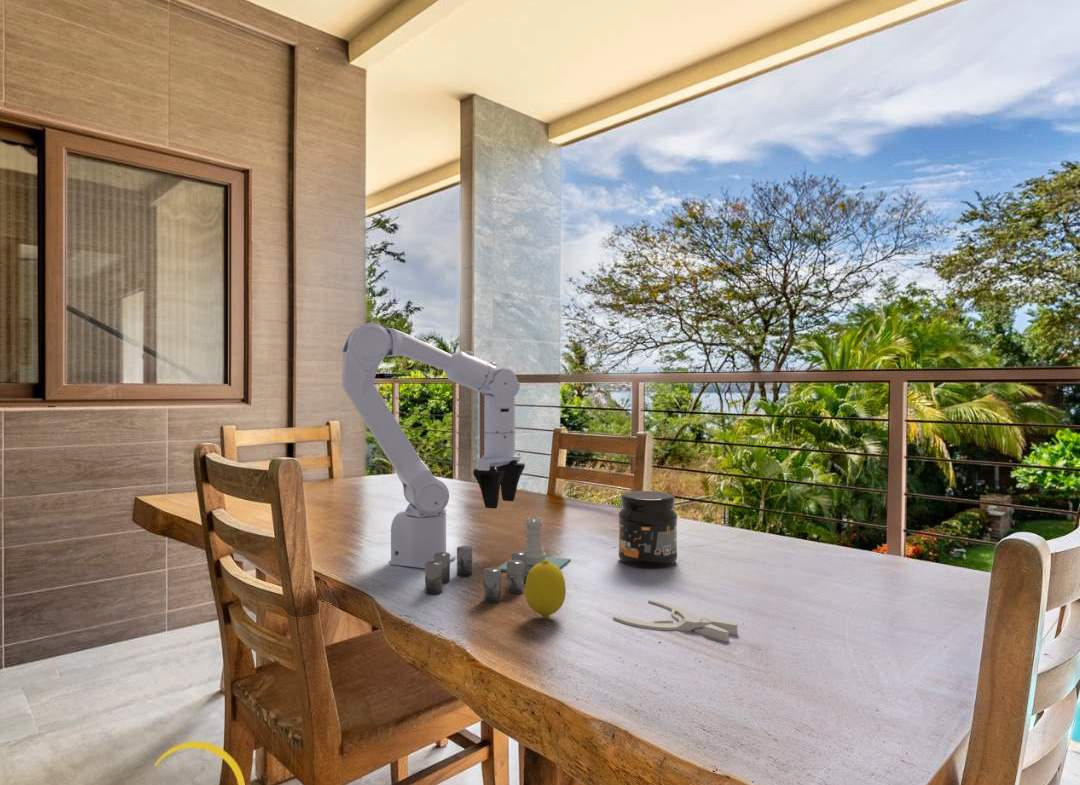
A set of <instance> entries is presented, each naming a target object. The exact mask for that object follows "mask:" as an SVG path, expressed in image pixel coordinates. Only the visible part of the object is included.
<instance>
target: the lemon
mask: <svg viewBox="0 0 1080 785" xmlns="http://www.w3.org/2000/svg"><path fill="white" fill-rule="evenodd" d="M524 584H525V586H524V587H525V588H524V592H525V598H526V602H527V605H528V607H529V608H530V609H531V610H532V611H533V612H534V613H536V614H538V615H540V616H541V617H542V618H543V619H549V617H550V616H551V615H552V614H556V612H558V611H559V610H560V609H561V607H562V606H563V604H564V602H565V599H566V590H567V588H566V581H565V577H564V574H563V571H562V570H561V569H559V568H558V567H557V566H556V565H554V564H553V563H550V562H549V561H548V560H543V561H542V562H541V563H538V564H536V565H535V566H534V567H532V569H531V570H530V571H529V573H528V574H527V579H526V582H525V583H524Z"/></svg>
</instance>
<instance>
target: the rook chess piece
mask: <svg viewBox="0 0 1080 785" xmlns="http://www.w3.org/2000/svg"><path fill="white" fill-rule="evenodd" d="M524 525H525V526H526V528H527V529H526V531H525V533H526V534H527V535H526V544H525V545H526V546H525V547H524V550H523V552H527V566H535V565H536V564H538V563H541V562H542V561H543V560H546V559H545V557H547V552H545V550H544V548H543V543H542V537H541V536H542V535H541V534H542V530H541V528H542V527H543V525H544V523H543V521H542V518H541V517H538V516H534V517H533V516H529V517H526V521H525V523H524Z"/></svg>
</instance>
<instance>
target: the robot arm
mask: <svg viewBox="0 0 1080 785" xmlns="http://www.w3.org/2000/svg"><path fill="white" fill-rule="evenodd" d="M341 354H342V370H341V371H342V372H341V373H342V374H341V386H342V389H343V391H344V392H345V394H346V396H347V397H348V398H349V400H350V401H351V402H350V403H352V405H353V406H354V408H355V410H356V411H357V413H358V414H359V415H360V417H361V419H362V420H363V421H364V424H365V425H366V427H367V428H368V430H369V431H370V433H371V435H372V436H373V437H374V439H375V441H376V442H377V443H378V444H377V445H378V446H379V447H380V448H381V450H382V452H383V453H384V455H385V456H386V457H387V460H388V461H389V463H390V464H391V465H392V468H393V469H394V471H395V473H396V475H397V477H398V479H399V481H400V483H401V484H402V488H403V490H402V491H403V496H404V499H405V500H406V501H407V503H409V504H408V505H407V507H406V509H405V511H400V512H398V513H396V515H395V516H394V517H393V519H392V521H391V525H390V560H389V561H388V565H393V566H394V565H395V566H401V567H402V566H403V567H408V568H409V567H410V568H419V569H425V563H426V562H429V561H434V554H435V553H439V552H447V509H446V507H447V505H448V503H449V500H450V492H449V491H450V490H449V489H448V487H447V485H446V484H445V482H443V481H442V480H440V479H439V478H437V477H435V475H434V474H433V473H432V471H431V470H430V469H429V468H428V466H427V465H426V463H425V462H424V461H423V460H422V459H421V457H420V456H419V455H418V453H417V451H416V450H415V447H414V446H413V445H412V443H411V441H410V440H409V439H408V436H407V435H406V434H405V432H404V430H403V429H402V427H401V425H400V424H399V423H398V421H397V419H396V417H395V416H394V415H393V413H392V412H391V410H390V408H389V407H388V405H387V403H386V402H385V400H384V399H383V396H382V395H381V394H380V392H379V391H378V389H377V388H376V386H375V384H374V382H375V379H376V375H377V372H378V369H379V366H380V364H381V363H382V361H383V360H384V358H389V357H400V356H403V357H407V358H408V359H409V358H410V359H412V360H415V361H417V362H420V363H424V364H426V365H429V366H431V367H434V368H437V369H438V370H443V371H444V373H445V375H446V378H447V380H449V381H451V382H453V383H456V384H458V385H461V386H463V387H466V388H468V389H471V390H473V391H476V392H479V393H482V395H483V396H484V455H483V456H482V457H481V458H479V459H477V468H474V469H473V470H472V471H473V472H472V473H473V476H474V478H475V480H476V481H477V484H478V486H479V488H480V492H481V495H482V500H483V503H484V507H485V509H497V508H498V506H499V499H500V498H499V497H500V493H501V499H502V501H503V502H514V501H515V497H516V493H517V488H518V484H519V482H520V478H521V476H522V473H523V471H524V470H525V468H526V467H525V466H526V465H525V463H523V462H522V463H520V461H521V457H522V456H521V452H520V451H516V407H515V406H516V405H515V404H516V403H515V397H516V395H518V393H519V391H520V389H521V388H520V387H521V383H520V382H519V380H518V376H517V375H516V374H515V373H514V371H512V370H511V369H508V368H504V367H503V368H497V363H496V362H494V361H490V362H488V361H485V360H483V359H480V358H478V357H477V356H474V352H473V351H470V350H466V351H461V350H460V351H459V350H458V351H456V352H454V353H449V352H446V351H444V350H443V349H440V348H438V347H436V346H433V345H432V344H429V343H427V342H425V341H423V340H420V339H418V338H416V337H414V336H412V335H410V334H407V333H405V332H402V331H400V330H398V329H395V328H391V327H384V326H383V325H381V324H378V323H376V322H366V323H364V324H362V325H360V326H359V327H356V328H355V329H353V330H352V331H351V332H350V333H349V334H348V336H347V338H346V340H345V343H344V345H343V347H342V352H341ZM456 559H457V555H452V554H450V562H451V561H453V560H456Z"/></svg>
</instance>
